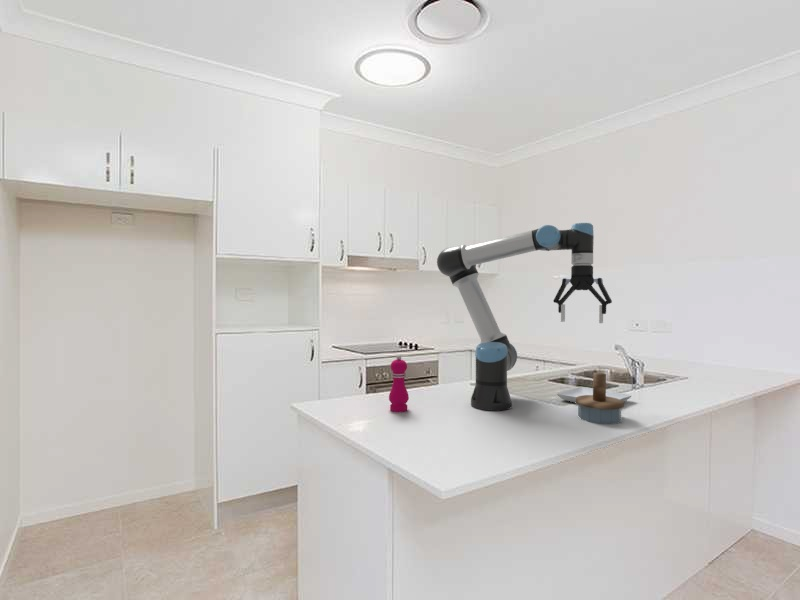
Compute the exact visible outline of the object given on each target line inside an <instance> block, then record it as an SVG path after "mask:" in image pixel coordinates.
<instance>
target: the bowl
mask: <svg viewBox="0 0 800 600" xmlns="http://www.w3.org/2000/svg"><path fill="white" fill-rule="evenodd" d="M578 416H579V417H580V418H581V419H580V418H579V417H578ZM577 417H578V418H579V419H580V420H582V419H583V420H582V421H585V420H586V421H585V422H589V423H593V422H594V424H600V425H603V424H604V425H613V423H615V424H619V423H621V421H622V408H620V409H595V408H589V407H585V406H581V405H579V404H577ZM618 422H619V423H618Z"/></svg>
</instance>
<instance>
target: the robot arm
mask: <svg viewBox="0 0 800 600" xmlns="http://www.w3.org/2000/svg"><path fill="white" fill-rule="evenodd" d="M594 236H595V235H594V225H593V224H592V223H591V222H578V223H573V224H572V225H571V228H570V229H558V228H557V227H556V226H554V225H550V224H545V225H542V226H541V227H539V228H537V229H531V230H528V231H524V232H520V233H516V234H513V235H508V236H504V237H500V238H496V239H491V240H488V241H483V242H480V243H477V244H476V243H475V244H471V245H469V246H467V245H466V244H460V245H457V246H452V247H451V246H450V247H446V248H445V249H443V250H441V251H440V253H439V254H438V256H437V258H436V265H437V268H438V270H439V272H440V273H441V274H443V275H444V276H446V277H449V279H450V283H451V284H452V286H454V287H456V288H457V289H458V291H459V293H460V295H461V298H462V300H463V302H464V305H465V307H466V309H467V311H468V314H469V316H470V318H471V321H472V323H473V325H474V327H475V330H476V332H477V334H478V336H479V339H480V343H479V344H478V345H476V347H475V354H474V355H475V386H474V388H473V392H472V395H471V397H470V406H471V407H473V408H475V409H477V410H478V409H479V410H484V411H492V412H493V411H506V410H509V409H511V408H512V406H513V405H512V403H513V402H512V398H511V395H510V391H509V388H508V371H510V370H511V369H513V368H514V366H515V365H516V363H517V361H518V351H517V349H516V348H515V346H514V345H513V343H512V344H511V343H510V340H509V338H508V336H507V334H505V333H503V332H501V330H500V327H499V326H498V323H497V321H496V318H495V316H494V314H493V311H492V310H491V308H490V305H489V303H488V301H487V298H486V296H485V294H484V291H483V290H482V288H481V287H482V286H481V285H480V283H479V281H478V277H479V274H480V273H479V272H478V269H477V265H480V264H484V263H488V262H493V261H498V260H501V259H506V258H510V257H515V256H519V255H523V254H528V253H531V252H536V251H546V252H549V251H562V250H563V251H565V250H568V251H569V250H571V266H570V267H571V268H570V270H571V272H570V273H571V274H570V275H571V276H570V278H566V277H565V278H562V279H561V281H562V282H561V285H560V287H559V289H558V291H557V293H556V295H555V296H554V299H553V300H552V301H553V303H555V304H557V306H558V309H557V310H558V313H559V314H560V322H565V321H566V304H564V303H565V302H566V301H567V300H568V299H569V297H570V296H571V295H572V294H573V293H574V292H575V291H589V292H591V294H592V295H593V296H594V297H595V298H596V299H597V301H598V302H599V303H600V304H601V305H599V307H598V308H599V310H598V311H599V314H598V315H599V316H598V317H599V319H598V322H599V324H603V323H604V315H606V314H607V306H608V305H609V304H612V303H613V300H612V298H611V297H610V295H609V293H608V291H607V289H606V287H605V285H604V283H603V282H604V281H603V278H602V277H598V278H594V266H593V264H594V238H595V237H594ZM594 283H595V284H596V285H598V287H599V291H600V292H601V294H602V295H603V297H604V298H603V297H602V296H601V294H599V292H598V291H597V290H596V289H595V288H594V287H593V284H594ZM569 284H571V287H570V288H569V289H568V290H567V291H566V292H565V294H564V291H565V289H566V287H567V285H569ZM563 294H564V295H563ZM562 295H563V296H562Z"/></svg>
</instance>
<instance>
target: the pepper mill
mask: <svg viewBox="0 0 800 600" xmlns="http://www.w3.org/2000/svg"><path fill="white" fill-rule="evenodd" d="M407 369H408V363H407V362H406V360H403V359H402V356H401V355H400V354H397V355H396V359H393V361H392V362H391V363H390V370H391V371H392V373H391V377H392V379H393V380H392V381H393V382H392V385H391V389H390V391H389V394H388V400H389V402H390V403H391V404H390V405H389V409H390V411H391V412H396V413H397V412H398V413H400V412H401V413H402V412H406V411H408V404H407V403H408V401H409V399H410V397H409V393H408V390H407V387H406V381H405V377H406V374H407V373H406V371H407Z"/></svg>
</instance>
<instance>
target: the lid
mask: <svg viewBox="0 0 800 600" xmlns="http://www.w3.org/2000/svg"><path fill="white" fill-rule="evenodd" d="M592 388H593V395H583V396H578V397H576V403H575V404H577V405H578V404H579V405H581V406H585V407H589V408H595V409H620V408H621V409H623V408H624V407H625V405H624V404H625V401H624V402H623V401H622V400H620V399H617V398H613V397H607V396H606V391H607V374H606V373H602V372H593V373H592Z"/></svg>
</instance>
